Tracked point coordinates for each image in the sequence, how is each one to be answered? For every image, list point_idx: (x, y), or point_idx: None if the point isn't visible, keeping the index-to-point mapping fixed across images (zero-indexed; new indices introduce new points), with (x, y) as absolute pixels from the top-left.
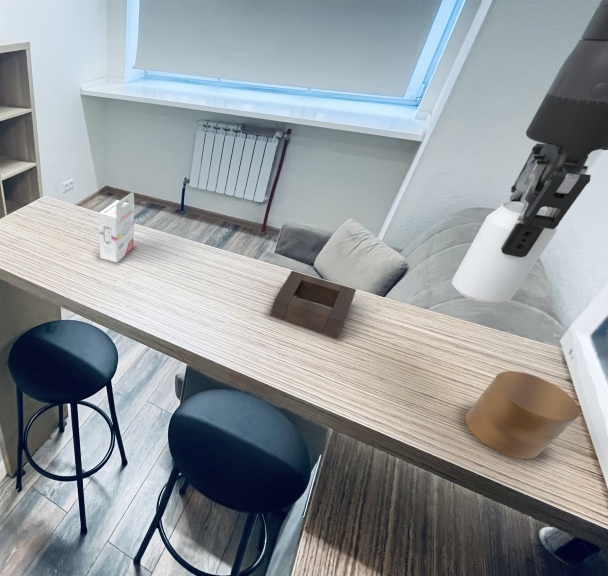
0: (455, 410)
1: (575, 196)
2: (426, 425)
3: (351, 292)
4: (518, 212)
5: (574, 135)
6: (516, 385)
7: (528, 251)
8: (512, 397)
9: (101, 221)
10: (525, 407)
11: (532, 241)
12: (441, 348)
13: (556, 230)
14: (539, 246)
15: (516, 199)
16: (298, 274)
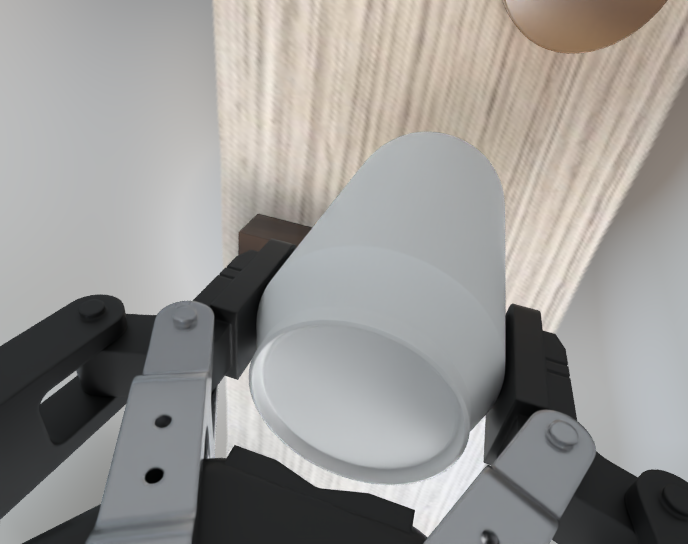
0: (522, 54)
1: None
2: (585, 120)
3: (256, 242)
4: (396, 447)
5: None
6: (566, 3)
7: (538, 323)
8: (622, 27)
9: None
10: (658, 3)
11: (568, 383)
12: (316, 48)
13: (417, 262)
14: (494, 284)
15: (216, 389)
16: None
